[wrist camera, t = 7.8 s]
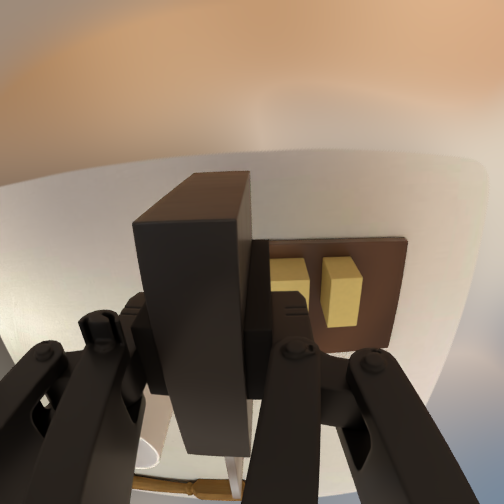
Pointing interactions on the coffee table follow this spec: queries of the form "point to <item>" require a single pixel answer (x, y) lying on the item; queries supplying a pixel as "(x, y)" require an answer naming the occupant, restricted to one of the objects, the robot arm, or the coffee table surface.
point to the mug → (153, 429)
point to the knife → (202, 309)
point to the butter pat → (340, 291)
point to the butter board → (372, 293)
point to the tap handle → (190, 488)
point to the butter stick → (290, 276)
